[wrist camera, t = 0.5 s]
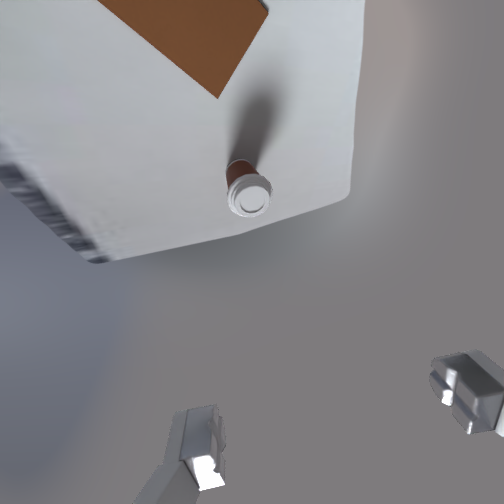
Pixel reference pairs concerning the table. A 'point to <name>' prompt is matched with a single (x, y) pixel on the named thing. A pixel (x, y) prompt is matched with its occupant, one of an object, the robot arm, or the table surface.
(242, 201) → the coffee cup
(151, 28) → the desk pad
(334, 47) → the table surface
